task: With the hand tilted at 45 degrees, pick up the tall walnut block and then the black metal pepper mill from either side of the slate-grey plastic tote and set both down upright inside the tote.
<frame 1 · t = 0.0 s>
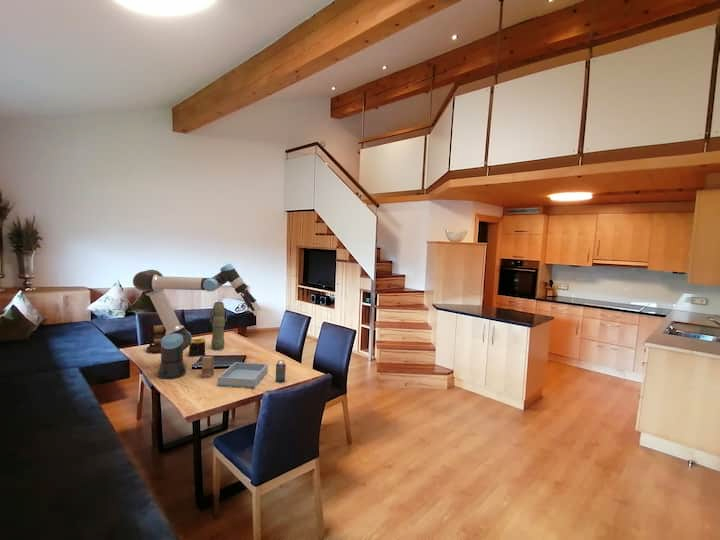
hand: (258, 312, 238), 36 cm above the table, tool tilted 35°, fingers open, 13 cm apart
pepper mill: (280, 380, 219), on the table
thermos: (217, 349, 273), on the table
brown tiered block: (158, 351, 262), on the table
tote: (243, 378, 220), on the table
walnut block: (207, 376, 220), on the table
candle: (197, 354, 259), on the table
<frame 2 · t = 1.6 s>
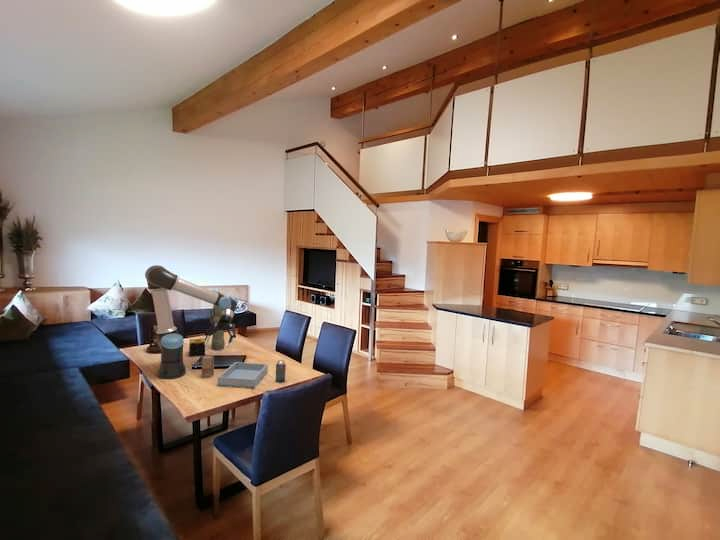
hand: (216, 346, 230), 15 cm above the table, tool tilted 45°, fingers open, 13 cm apart
nothing on the table moved.
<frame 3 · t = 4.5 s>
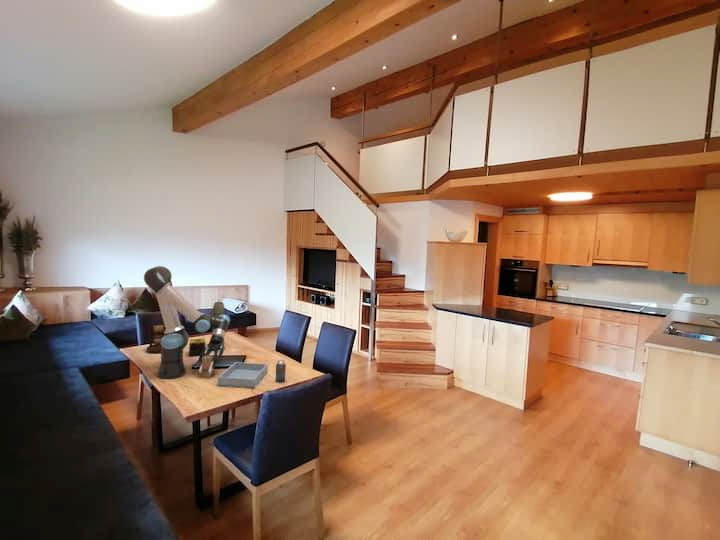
hand: (205, 372, 216), 4 cm above the table, tool tilted 45°, fingers closed on walnut block, 5 cm apart
walnut block: (207, 376, 220), on the table, touching gripper
everything else where it was.
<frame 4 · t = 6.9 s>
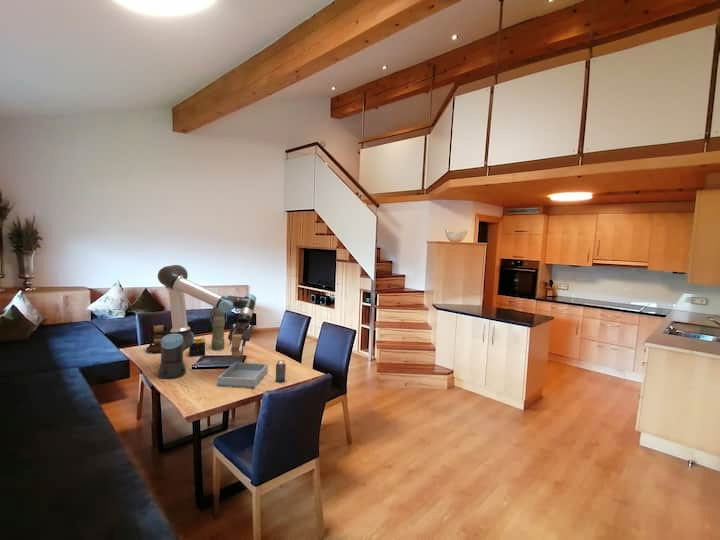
hand: (235, 350, 212), 19 cm above the table, tool tilted 45°, fingers closed on walnut block, 5 cm apart
walnut block: (237, 355, 216), point 15 cm above the table, touching gripper
everything else where it was.
when the fingers open (6 cm above the table, at t = 9.6 s): walnut block drops 1 cm, resting on tote.
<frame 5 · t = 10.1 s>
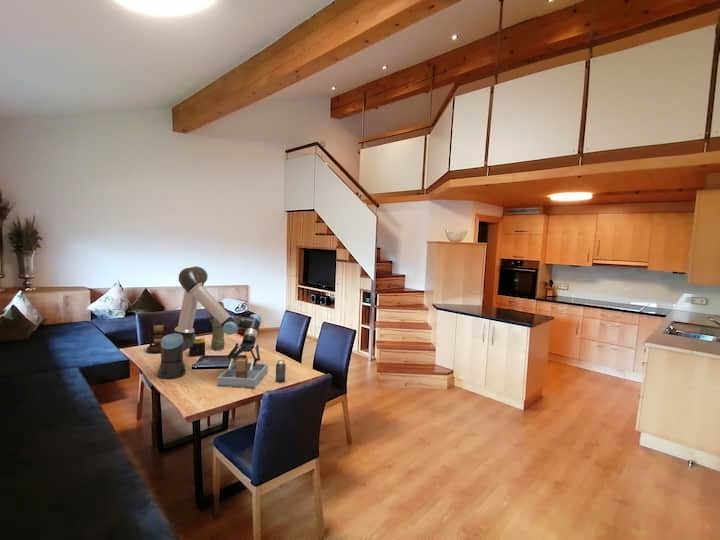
hand: (240, 370, 212), 7 cm above the table, tool tilted 45°, fingers open, 12 cm apart
walnut block: (241, 379, 216), point 1 cm above the table, touching tote
everything else where it was.
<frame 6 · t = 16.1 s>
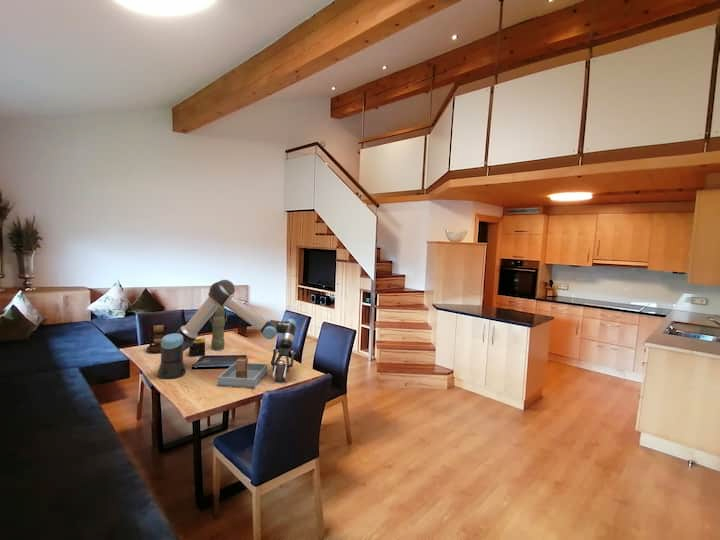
hand: (279, 376, 215), 4 cm above the table, tool tilted 45°, fingers closed on pepper mill, 6 cm apart
pepper mill: (280, 380, 219), on the table, touching gripper
everything else where it was.
when the fingers open (6 cm above the table, at t = 21.8 s): pepper mill drops 1 cm, resting on tote.
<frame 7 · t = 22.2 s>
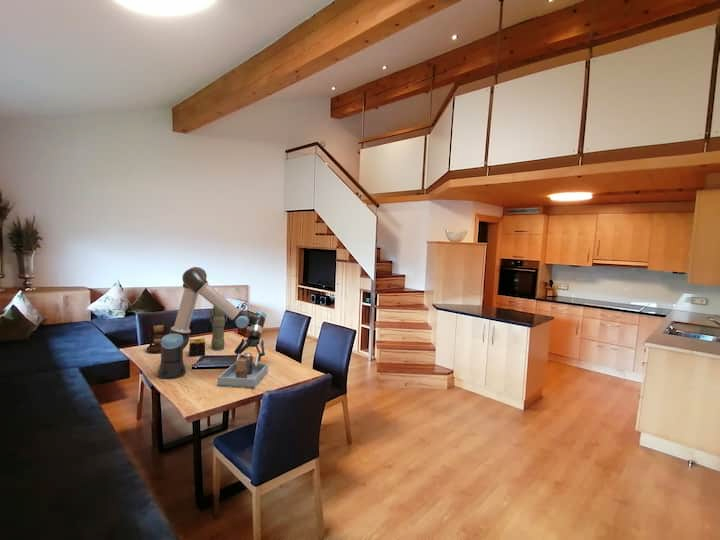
hand: (246, 364, 222), 7 cm above the table, tool tilted 45°, fingers open, 11 cm apart
pepper mill: (247, 373, 226), point 1 cm above the table, touching tote
everything else where it was.
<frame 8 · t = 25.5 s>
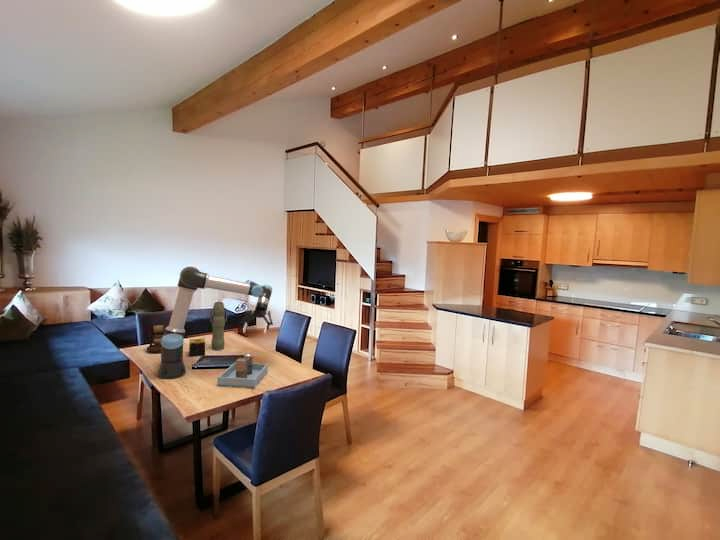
hand: (254, 332, 234), 24 cm above the table, tool tilted 45°, fingers open, 13 cm apart
nothing on the table moved.
at the end: walnut block inside the target area on the tote (4.0 cm from its centre), point 1.0 cm above the tote's base; pepper mill inside the target area on the tote (6.1 cm from its centre), point 1.0 cm above the tote's base; pepper mill tilted 0° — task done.
